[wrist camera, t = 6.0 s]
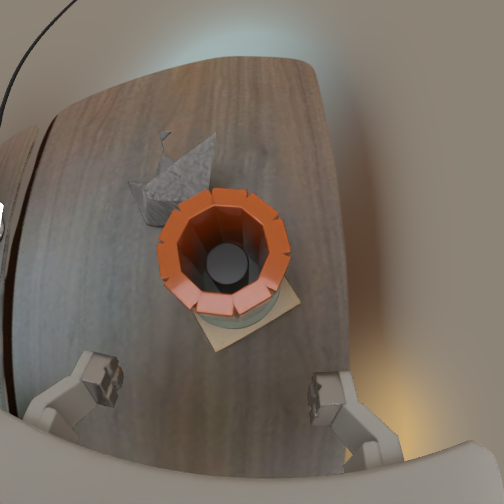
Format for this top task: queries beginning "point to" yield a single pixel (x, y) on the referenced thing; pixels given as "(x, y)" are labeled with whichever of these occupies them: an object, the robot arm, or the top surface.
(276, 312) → the stacking tower
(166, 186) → the paper boat
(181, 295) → the orange hollow cylinder
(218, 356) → the top surface
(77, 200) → the top surface
